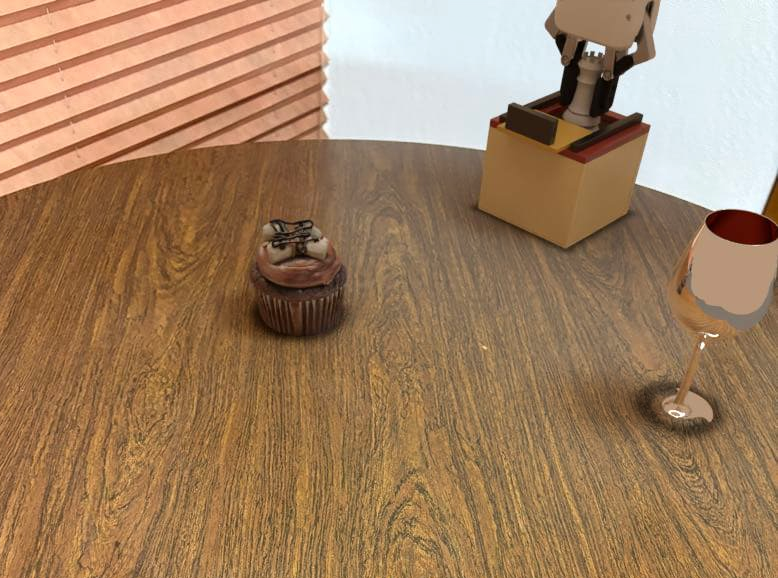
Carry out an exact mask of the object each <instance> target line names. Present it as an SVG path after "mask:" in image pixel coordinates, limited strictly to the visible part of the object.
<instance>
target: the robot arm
mask: <svg viewBox="0 0 778 578" xmlns="http://www.w3.org/2000/svg"><path fill="white" fill-rule="evenodd" d="M661 1H662V0H556V3H555V6H554V8H553V9H552V11H551V12H550V14H549V15H548V17H547V18H546V20H545V22H544V24H543V25H544V29H545V30H546V31H547V33H548V34H549V35H550V37H551V38H552V39H553V40H554V42H555V45H556V47H557V50H558V53H559V54H560V64H561V65H562V67H563V71H562V76H561V82H560V87H559V90H560V93H561V95H560V100H559V105H561V106H563V107H564V106H566V105H569V104H571V103H572V100H573V98H574V95H575V92H576V89H577V84H578V80H577V77H578V76H579V75H580V68H579V65H578V62H579V61H580V60H581V59H582V57H583V54H584V52H587V48H588V45H589V42H590V43H593V44H595V45H599V46H602V47H605V49H604V55H605V56H604V65H603V73H602V75H601V78H599V79H597V81H596V84H595V89H594V93H593V98H592V102H591V107H590V112H589V115H590V117H593V118H596V117H598V116H600V115H603V114H605V113H607V112H608V111H609V110H610V109H611V108H612V107H613V105H614V101H615V98H616V97H615V96H616V93H617V88H618V86H619V85H618V83H619V80H620V77H621V76H623V75H624V74H625V73H627V71H629V70H630V69H632V68H633V67H635V66H638V65H641V64H643V63H646V62H649V61H652V60H653V59H655V57H656V55H657V52H656V51H657V50H656V46H655V40H654V32H655V30H656V25H657V21H658V17H659V16H658V15H659V11H660V6H661ZM634 43H636V50H635V51H633V52H631V53H629V49H631V48H632V47H633V45H634Z"/></svg>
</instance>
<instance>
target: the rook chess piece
mask: <svg viewBox="0 0 778 578" xmlns="http://www.w3.org/2000/svg"><path fill="white" fill-rule="evenodd" d="M589 51H590V52H589ZM589 51H585V52H584V54H583V57H582V59H581V60H580V61H579V62H578V65H579V68H580V75H579V76H578V77H577V80H578V84H577V89H576V92H575V95H574V98H573V100H572V103H571V104H570V105H569V106H568V109H567V110H566V111H565V112H564V114H563V116H562V117H563V119H564V121H567V122H569V123H572V124H575V125H577V126H580V127H582V128H585V129H588V130H590V131H593V132H595V131H597V130H599V127H598V124H599V123H600V116H598V117H596V118H593V117H590V115H589V112H590V107H591V102H592V98H593V93H594V89H595V84H596V81H597V79H599V78H601V77H602V74H603V65H604V56H605V54H604V53H603V52H601V51H598V53H597V55H596V51H595V50H589Z"/></svg>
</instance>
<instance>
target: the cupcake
mask: <svg viewBox="0 0 778 578" xmlns="http://www.w3.org/2000/svg"><path fill="white" fill-rule="evenodd" d="M289 225H290V226H294V228H293V229H294V230H289V228H288V226H289ZM297 225H298V226H297ZM314 225H315V223H314V221H313V220H311V219H300V220H296V221H294V222H289V221H285V220H283V219H280V218H275V217H273V218H272V220H270V221H268V223H267V224H265V225H263V227H262V232H261V234H262V235H261V237H262V239H263V241H262V242H261V243H260V245H259V246H258V249H257V252H256V257H254V258H253V260H252V262H251V264H250V267H249V274H248V275H249V282H250V285H251V288H252V291H253V292H254V295H255V298H256V301H257V305H258V309H259V313H260V317H261V319H262V321H264V323H265V324H266V325H267V326H268V327H269V328H270V329H271V330H274V331H275V332H278V333H281V334H283V335H288V336H294V337H303V336H308V337H309V336H315V335H319V334H321V333H324V332H325V331H328V330H330V329H331V328H333V326H334V325H336V323H337V322H338V320H339V317H340V315H341V309H342V305H343V301H344V297H345V293H346V289H347V286H348V280H349V279H348V278H349V275H348V274H349V273H348V268H347V265H346V264H343V262H342V258H341V256H340V253H339V251H338V250H337V249H336V247H335V246H334V244H332V242H331V241H330V240H329V239H328V238H327V237H325V236H324V235H323V234H322V232H321V230H320V229H319V228H317V227H316V226H314Z"/></svg>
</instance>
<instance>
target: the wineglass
mask: <svg viewBox="0 0 778 578" xmlns="http://www.w3.org/2000/svg"><path fill="white" fill-rule="evenodd" d="M777 279H778V224H777V223H776V222H775V221H774V220H772V219H771V218H769V217H767V216H766V215H764V214H762V213H761V214H760V213H758V212H755V211H751V210H747V209H741V208H723V209H722V208H721V209H717V210H714V211H711V212H710V213H708V214H707V215H706V216H705V217H704V219H703V220H702V222H701V223H700V224H699V226H698V228H697V229H696V231H695V233H694V234H693V235H692V237H691V238H690V240H689V242H688V243H687V245H686V246H685V248H684V250H683V251H682V252H681V255H680V256H679V258H678V260H677V261H676V263H675V264H674V267H673V269H672V271H671V273H670V276H669V279H668V281H667V287H666V297H667V303H668V307H669V309H670V312H671V313H672V315H673V317H674V319H675V320H676V321H677V323H678V325H680V326H681V327H682V329H684V330H685V332H687V333H688V335H689V336H690V337H691V340H692V341H693V344H694V346H693V349H692V352H691V355H690V359H689V361H688V363H687V366H686V370H685V372H684V375H683V378H682V381H681V384H680V386H679V387H676V388H675V389H676V390H677V394H675V395H672V396H669V397H666V398H665V399H664V400H663V401H662V403H661V405H662V407H661V408H662V409H663V410H664V411H665V413H666V414H668V415H669V416H672V417H674V418H677V419H683V420H687V419H695V418H699V417H700V418H703V419H705V420H706V421H707V422H708V423H711V422H712V420H713V418H714V410H713V408H712V407H711V405H710V403H709V402H708V401H707V400H706V399H705V398H703V397H702V396H700V395H699V394H697V393H695V392H693V391H691V390H690V388H691V385H692V382H693V379H694V376H695V374H696V371H697V368H698V366H699V363H700V360H701V357H702V355H703V353H704V351H705V348H706V347H707V346H709V345H710V344H712V343H716V342H718V341H722V340H726V339H730V338H733V337H736V336H739V335H741V334H743V333H745V332H747V331H748V330H750V329H752V328H753V327H754V326H756V325H757V324H758V323H759V322H760V321H761V320H762V319H763V318H764V317H765V315H767V313H768V311H769V309H770V307H771V305H772V303H773V300H774V296H775V291H776V286H777Z"/></svg>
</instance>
